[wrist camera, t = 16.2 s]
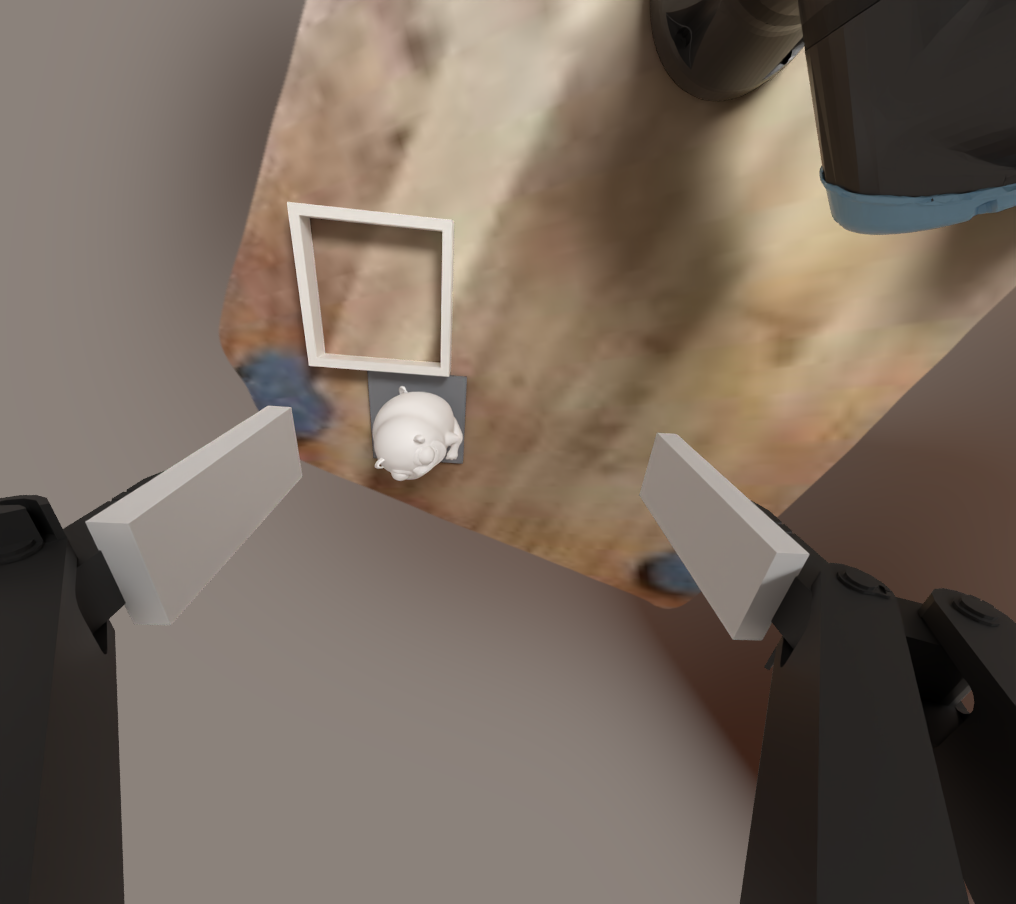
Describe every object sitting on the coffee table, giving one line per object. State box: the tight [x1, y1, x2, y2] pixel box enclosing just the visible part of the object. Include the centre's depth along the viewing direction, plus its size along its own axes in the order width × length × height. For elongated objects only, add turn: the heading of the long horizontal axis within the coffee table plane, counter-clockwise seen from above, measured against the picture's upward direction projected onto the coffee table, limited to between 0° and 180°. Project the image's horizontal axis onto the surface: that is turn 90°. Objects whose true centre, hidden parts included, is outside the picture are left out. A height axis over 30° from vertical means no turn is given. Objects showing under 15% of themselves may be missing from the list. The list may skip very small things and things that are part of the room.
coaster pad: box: [367, 370, 467, 464], centre depth 50 cm, size 12×12×1 cm
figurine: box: [373, 386, 463, 481], centre depth 44 cm, size 10×10×12 cm
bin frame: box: [287, 202, 455, 377], centre depth 42 cm, size 16×16×2 cm
